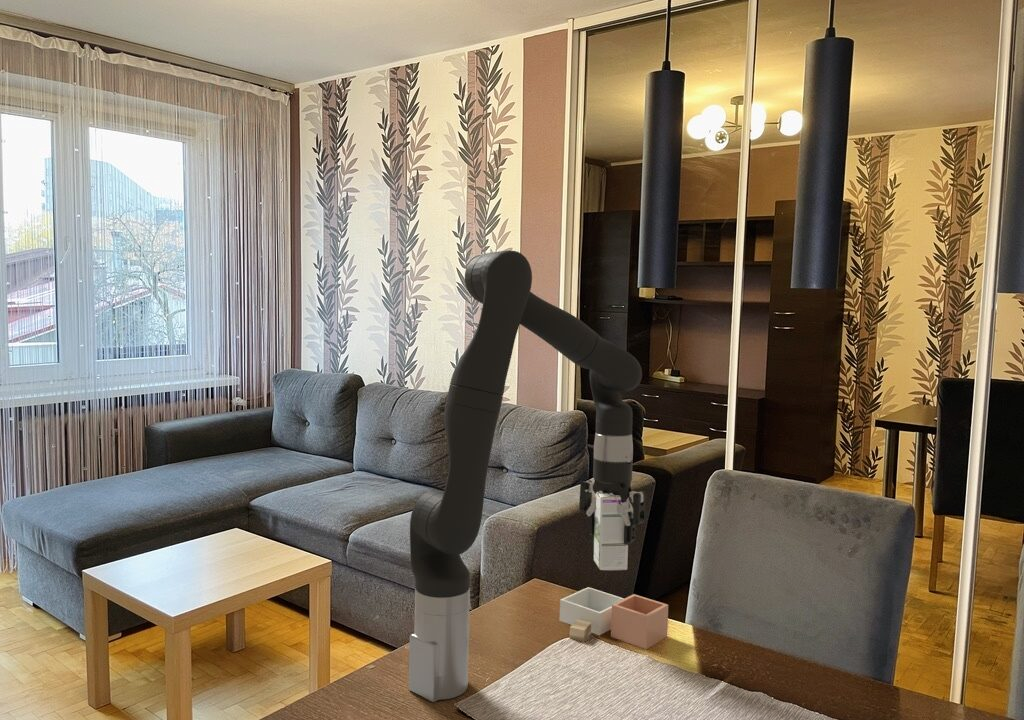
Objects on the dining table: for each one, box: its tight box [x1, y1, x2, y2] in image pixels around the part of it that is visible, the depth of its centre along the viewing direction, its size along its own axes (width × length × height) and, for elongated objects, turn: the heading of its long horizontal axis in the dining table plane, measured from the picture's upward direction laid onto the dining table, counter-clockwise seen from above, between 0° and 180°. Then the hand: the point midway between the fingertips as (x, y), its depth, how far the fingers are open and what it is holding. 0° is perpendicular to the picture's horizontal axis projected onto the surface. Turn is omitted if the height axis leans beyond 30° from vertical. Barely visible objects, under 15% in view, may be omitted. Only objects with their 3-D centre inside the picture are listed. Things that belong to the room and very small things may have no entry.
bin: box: [558, 586, 625, 636], centre depth 154 cm, size 10×10×5 cm
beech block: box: [569, 620, 592, 642], centre depth 146 cm, size 4×3×3 cm
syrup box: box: [593, 492, 630, 571], centre depth 144 cm, size 6×6×14 cm
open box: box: [610, 593, 669, 650], centre depth 146 cm, size 8×8×7 cm
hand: (610, 539), depth 145 cm, fingers closed on syrup box, 8 cm apart
